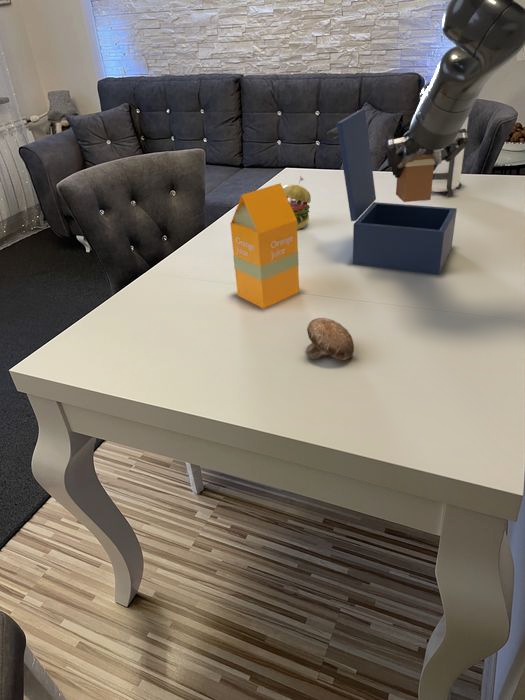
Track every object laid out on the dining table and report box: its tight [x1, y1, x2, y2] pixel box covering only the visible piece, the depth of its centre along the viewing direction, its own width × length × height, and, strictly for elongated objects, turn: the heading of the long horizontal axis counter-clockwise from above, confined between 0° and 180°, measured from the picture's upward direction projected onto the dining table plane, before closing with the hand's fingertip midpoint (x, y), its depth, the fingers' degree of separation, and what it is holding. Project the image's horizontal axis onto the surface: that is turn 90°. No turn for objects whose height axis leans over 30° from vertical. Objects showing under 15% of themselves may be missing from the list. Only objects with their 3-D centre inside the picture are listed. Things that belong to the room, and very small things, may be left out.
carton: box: [395, 154, 435, 203], centre depth 97 cm, size 5×5×8 cm
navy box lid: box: [326, 108, 377, 222], centre depth 105 cm, size 18×14×5 cm
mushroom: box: [306, 317, 355, 361], centre depth 80 cm, size 8×8×6 cm
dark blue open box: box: [352, 201, 457, 276], centre depth 108 cm, size 17×14×9 cm
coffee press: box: [418, 81, 471, 198], centre depth 137 cm, size 17×16×30 cm
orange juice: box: [230, 182, 300, 309], centre depth 94 cm, size 8×9×20 cm
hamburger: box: [282, 175, 312, 231], centre depth 126 cm, size 8×7×12 cm
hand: (411, 171), depth 99 cm, fingers closed on carton, 5 cm apart
